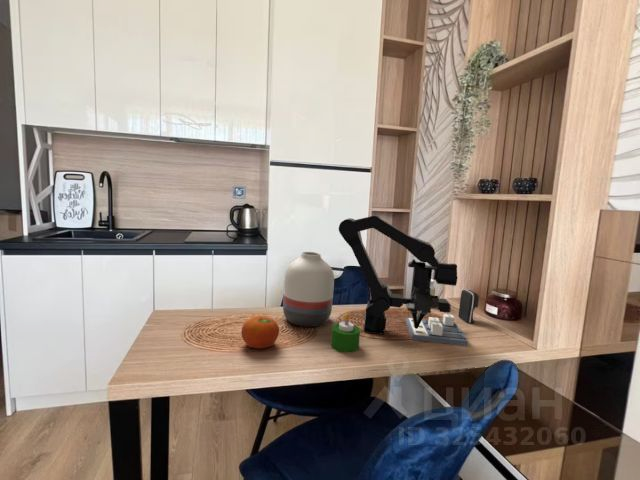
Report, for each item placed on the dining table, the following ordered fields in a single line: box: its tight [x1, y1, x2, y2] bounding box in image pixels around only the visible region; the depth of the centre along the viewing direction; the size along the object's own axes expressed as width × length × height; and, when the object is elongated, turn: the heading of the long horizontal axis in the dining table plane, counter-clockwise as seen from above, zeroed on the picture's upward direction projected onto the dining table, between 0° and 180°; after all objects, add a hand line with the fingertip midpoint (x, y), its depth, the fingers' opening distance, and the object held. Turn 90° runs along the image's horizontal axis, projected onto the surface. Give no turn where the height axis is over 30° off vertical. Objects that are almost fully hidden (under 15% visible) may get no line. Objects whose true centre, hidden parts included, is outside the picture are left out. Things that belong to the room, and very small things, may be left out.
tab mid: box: [427, 316, 441, 329], centre depth 119 cm, size 3×3×3 cm
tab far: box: [442, 313, 455, 326], centre depth 124 cm, size 3×3×3 cm
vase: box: [282, 251, 335, 328], centre depth 121 cm, size 17×17×24 cm
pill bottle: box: [430, 278, 436, 296], centre depth 149 cm, size 6×6×11 cm
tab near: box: [431, 322, 443, 336], centre depth 115 cm, size 3×3×3 cm
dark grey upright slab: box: [458, 289, 480, 324], centre depth 134 cm, size 7×4×11 cm, turn 10°
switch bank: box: [405, 317, 468, 346], centre depth 120 cm, size 17×16×2 cm
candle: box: [330, 313, 361, 354], centre depth 104 cm, size 8×8×10 cm
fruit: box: [241, 315, 280, 349], centre depth 101 cm, size 11×10×8 cm
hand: (415, 328), depth 115 cm, fingers closed
